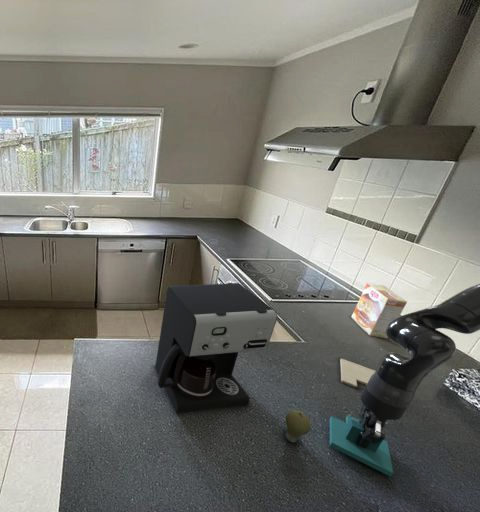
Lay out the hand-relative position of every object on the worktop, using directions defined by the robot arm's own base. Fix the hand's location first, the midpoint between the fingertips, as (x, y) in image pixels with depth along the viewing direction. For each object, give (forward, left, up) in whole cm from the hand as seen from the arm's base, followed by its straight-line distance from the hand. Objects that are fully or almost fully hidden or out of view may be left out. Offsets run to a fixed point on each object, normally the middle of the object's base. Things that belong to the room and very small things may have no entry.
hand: (360, 440), depth 75 cm
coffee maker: (+42, +8, -4) cm, 43 cm away
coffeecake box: (-9, -79, -4) cm, 80 cm away
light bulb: (+14, +8, -4) cm, 17 cm away
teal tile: (0, -2, -2) cm, 3 cm away
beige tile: (-5, -35, -4) cm, 36 cm away
